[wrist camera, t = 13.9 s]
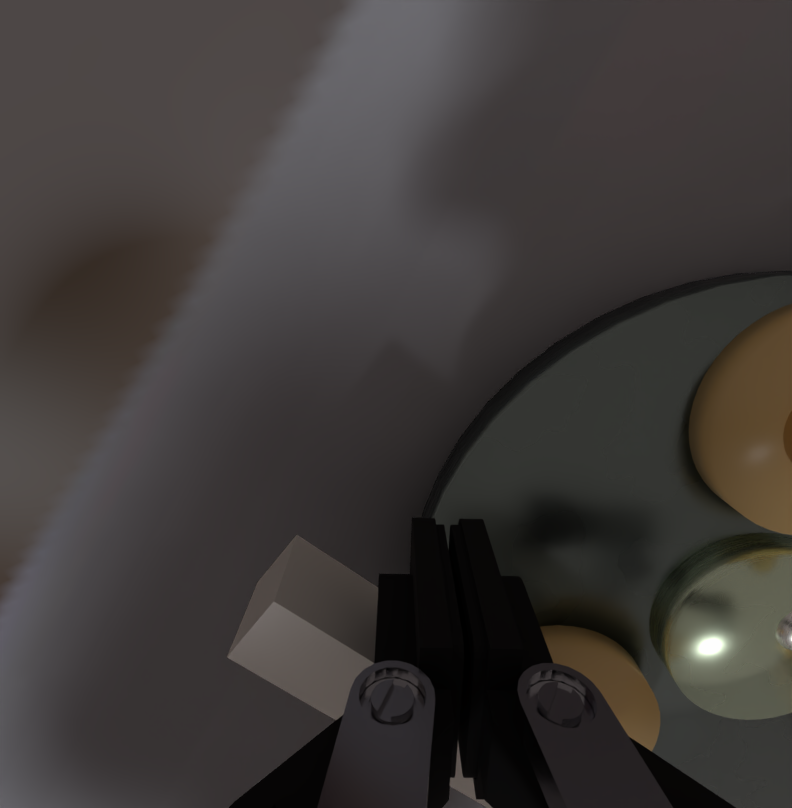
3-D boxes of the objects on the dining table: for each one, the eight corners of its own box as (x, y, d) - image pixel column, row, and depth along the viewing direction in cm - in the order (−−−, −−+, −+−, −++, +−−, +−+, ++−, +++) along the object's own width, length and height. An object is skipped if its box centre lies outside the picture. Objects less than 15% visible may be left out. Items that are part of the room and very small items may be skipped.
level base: (404, 796, 19) (406, 898, 16) (421, 264, 14) (428, 269, 10) (912, 800, 20) (1007, 902, 17) (1149, 277, 14) (1366, 285, 11)
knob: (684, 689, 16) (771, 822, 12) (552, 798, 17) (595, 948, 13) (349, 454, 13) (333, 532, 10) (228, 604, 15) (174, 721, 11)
